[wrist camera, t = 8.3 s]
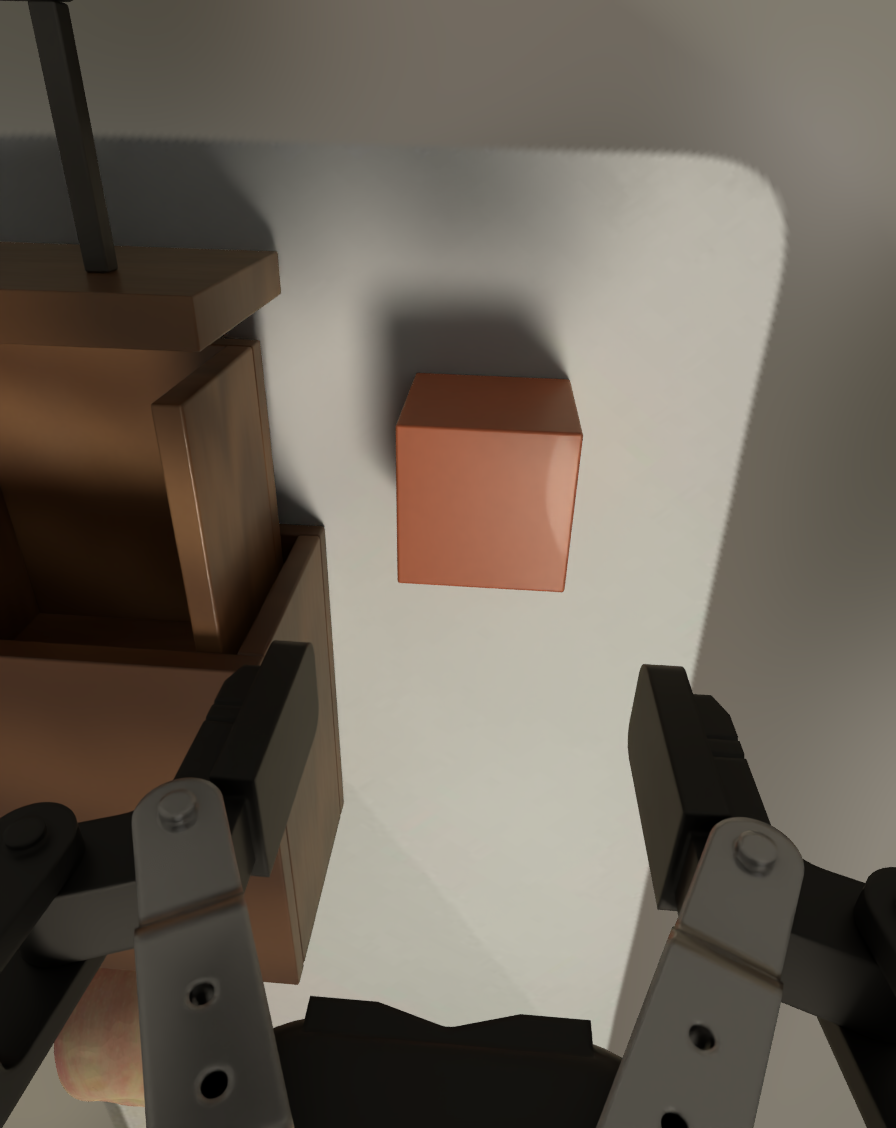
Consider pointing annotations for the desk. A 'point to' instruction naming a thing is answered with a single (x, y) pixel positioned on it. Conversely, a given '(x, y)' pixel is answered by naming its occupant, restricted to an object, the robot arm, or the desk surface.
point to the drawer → (129, 421)
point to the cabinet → (179, 740)
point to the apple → (103, 1042)
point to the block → (486, 481)
